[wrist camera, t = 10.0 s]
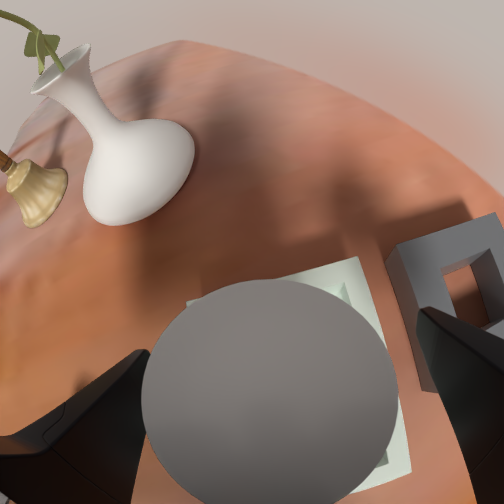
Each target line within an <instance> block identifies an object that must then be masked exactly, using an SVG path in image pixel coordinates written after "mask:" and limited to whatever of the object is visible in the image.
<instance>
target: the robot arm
mask: <svg viewBox="0 0 504 504" xmlns="http://www.w3.org/2000/svg"><path fill="white" fill-rule="evenodd" d="M416 336H417V339H418V342H419V344H420V347H421V350H422V353H423V356H424V359H425V362H426V364H427V367H428V370H429V373H430V375H431V377H432V380H433V382H434V384H435V386H436V389H437V391H438V393H439V395H440V398H441V400H442V402H443V405H444V407H445V409H446V412H447V414H448V417H449V419H450V422H451V424H452V427H453V429H454V432H455V435H456V437H457V440H458V443H459V446H460V448H461V451H462V454H463V457H464V460H465V463H466V466H467V469H468V472H469V474H470V475H469V476H470V480H471V483H472V486H473V490H474V494H475V497H476V501H477V504H504V339H502V338H500V337H498V336H496V335H494V334H491V333H489V332H487V331H485V330H483V329H480V328H478V327H476V326H474V325H472V324H469V323H467V322H465V321H463V320H461V319H458V318H456V317H454V316H452V315H449V314H447V313H445V312H443V311H440V310H438V309H436V308H434V307H431V306H427V307H424V308H420V309H419V310H418V314H417V322H416ZM149 357H150V353H149V351H148V350H146V349H138V350H135V351H134V352H132V353H131V354H130V355H128V356H127V357H125V358H124V359H123V360H121V361H120V362H119V363H117V364H116V365H115V366H113V367H112V368H110V369H109V370H108V371H106V372H105V373H104V374H102V375H101V376H99V377H98V378H97V379H95V380H94V381H93V382H91V383H90V384H88V385H87V386H86V387H84V388H83V389H82V390H80V391H79V392H77V393H76V394H75V395H73V396H72V397H71V398H69V399H68V400H66V402H64V403H62V404H61V405H59V406H58V407H57V408H55V409H54V410H52V411H51V412H49V413H48V414H46V415H45V416H43V417H41V418H40V419H38V420H37V421H35V422H33V423H32V424H30V425H28V426H27V427H25V428H23V429H22V430H20V431H18V432H16V433H14V434H12V435H8V436H0V504H131V499H132V494H133V489H134V484H135V479H136V474H137V470H138V465H139V461H140V456H141V452H142V448H143V444H144V439H145V435H146V429H145V425H144V421H143V415H142V406H141V396H142V384H143V377H144V373H145V369H146V366H147V362H148V360H149Z"/></svg>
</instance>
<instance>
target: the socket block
mask: <svg viewBox="0 0 504 504" xmlns="http://www.w3.org/2000/svg"><path fill="white" fill-rule="evenodd" d="M384 263H385V266H386V269H387V272H388V274H389V277H390V280H391V283H392V286H393V288H394V291H395V294H396V297H397V300H398V303H399V307H400V310H401V313H402V316H403V319H404V323H405V326H406V329H407V333H408V336H409V340H410V343H411V347H412V351H413V355H414V359H415V363H416V367H417V371H418V375H419V379H420V384H421V388H422V391H426V392H433V393H438V391H437V389H436V386H435V384H434V382H433V380H432V377H431V375H430V373H429V370H428V367H427V364H426V362H425V359H424V356H423V353H422V350H421V347H420V344H419V342H418V339H417V336H416V322H417V314H418V310H419V309H420V308H424V307H427V306H431V307H434V308H436V309H438V310H440V311H443V312H445V313H447V314H449V315H452V316H454V317H456V318H457V316H456V313H455V310H454V307H453V304H452V301H451V298H450V295H449V292H448V289H447V286H446V283H445V281H444V278H443V275H446V274H448V273H451V272H453V271H455V270H458V269H460V268H463V267H465V266H467V265H471V268H472V270H473V273H474V276H475V278H476V281H477V284H478V287H479V290H480V293H481V296H482V299H483V302H484V305H485V308H486V311H487V315H488V318H489V322H490V323H488V324H487V325H485V326H483V327H481V328H480V329H483V330H485V331H487V332H489V333H491V334H494V335H496V336H498V337H500V338H502V339H504V229H503V227H502V225H501V223H500V221H499V219H498V217H497V215H496V213H495V212H494V213H491V214H488V215H485V216H482V217H479V218H476V219H473V220H471V221H468V222H465V223H462V224H459V225H456V226H453V227H450V228H446V229H443V230H440V231H437V232H434V233H431V234H428V235H425V236H422V237H418V238H415V239H412V240H409V241H406V242H402V243H399V244H396V245H395V247H394V248H393V250H392V252H391V253H390V255H389V256H388V258H387V259H386V261H385V262H384Z"/></svg>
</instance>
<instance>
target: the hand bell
mask: <svg viewBox="0 0 504 504" xmlns="http://www.w3.org/2000/svg"><path fill="white" fill-rule="evenodd" d="M0 169H1V171H2V172H4V173H5V174H6V175H7V176H8V181H7V191H8V192H9V193H10V194H11V195H12V197H13V198H14V199H15V200H16V201H17V203H18V204H19V206H20V208H21V211H22V218H23V221H24V223H25V225H26V226H27V227H29V228H35V227H38V226H40V225H41V224H43V223H44V222H45V221H46V220H47V219H48V218H49V217H50V216H51V215H52V214H53V212H54V211H55V210H56V208H57V207H58V205H59V203H60V202H61V200H62V198H63V196H64V193H65V190H66V187H67V182H68V177H67V173H66V172H65V171H64V170H63V169H59V168H54V169H45V168H43V167H40V166H39V165H37V164H35V163H34V162H33V161H31V160H30V159H25V160H23V161H21V162H20V163H16V162H15V161H13V160H12V159H11V158H9V157H8V156H7V155H6V154H5V153H3V152H2V151H1V150H0Z"/></svg>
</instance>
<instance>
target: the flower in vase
mask: <svg viewBox="0 0 504 504" xmlns="http://www.w3.org/2000/svg"><path fill="white" fill-rule="evenodd" d="M0 17H2V18H5V19H8V20H11V21H13V22H16V23H18V24H20V25H22V26H24V27H26V28H27V29H29V30H30V31H32V32H33V33H32V32H29V34H28V37H27V41H26V45H25V49H24V54H25V56H27V57H35V56H37V57H38V65H39V75H41V74H42V72H43V70H44V62H45V56H48V55H51V57H52V59H53V60H54V62H55V63H54V64H53V65H51V66H50V67H49V68H48V69H47V70H46V71H45V72H44V73H43V74H42V75H41V76H40V77H39V79H38V80H37V81H36V82H35V83H34V85H33V86H32V88H31V93H32V94H38V95H44V96H47V97H50V98H52V99H54V100H56V101H58V102H59V103H61V104H62V105H63V106H65V107H66V108H67V109H68V110H69V111H70V112H71V113H72V114H74V115H75V116H76V118H77V119H78V120H79V121H80V122H81V123H82V124H83V126H84V127H85V128H86V130H87V131H88V133H89V134H90V136H91V138H92V140H93V152H92V155H91V157H90V160H89V163H88V166H87V169H86V173H85V177H84V185H83V198H84V202H85V205H86V207H87V209H88V211H89V213H90V215H91V216H92V217H93V218H94V219H95V220H96V221H98V222H100V223H102V224H105V225H114V226H116V225H125V224H130V223H134V222H137V221H139V220H142V219H144V218H146V217H148V216H150V215H151V214H153V213H155V212H156V211H158V210H159V209H160V208H162V207H163V206H164V205H165V204H166V203H167V202H169V201H170V200H171V199H172V198H173V196H174V195H175V194H176V193H177V192H178V191H179V189H180V188H181V187H182V185H183V183H184V182H185V180H186V178H187V176H188V174H189V172H190V169H191V166H192V163H193V160H194V155H195V146H194V141H193V138H192V136H191V135H190V133H189V132H188V131H187V130H186V129H184V128H183V127H182V126H180V125H179V124H177V123H175V122H173V121H169V120H163V119H144V120H136V121H129V122H125V121H121V120H119V119H117V118H116V117H115V116H114V115H113V114H112V113H111V112H110V110H109V109H108V108H107V106H106V105H105V103H104V102H103V100H102V99H101V97H100V95H99V93H98V91H97V89H96V87H95V85H94V82H93V79H92V76H91V73H90V67H89V56H90V50H91V44H89V43H88V44H84V45H81V46H79V47H77V48H75V49H73V50H72V51H70V52H69V53H67V54H66V55H64V56H63V57H61V58H60V59H59V58H58V56H57V55H56V53H55V51H56V49H57V47H58V43H59V41H60V37H59V36H57V35H44V34H42V31H41V30H39V29H38V28H36V27H35V26H34V25H33V24H31V23H30V22H28V21H26V20H25V19H23V18H21V17H18V16H16V15H13V14H11V13H8V12H5V11H2V10H0Z"/></svg>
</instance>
